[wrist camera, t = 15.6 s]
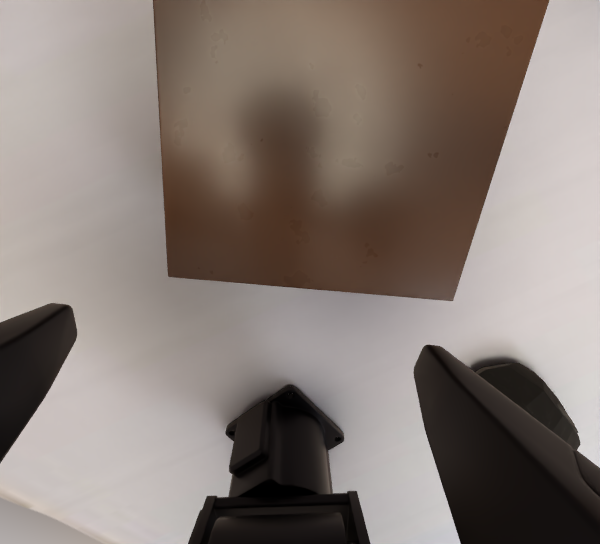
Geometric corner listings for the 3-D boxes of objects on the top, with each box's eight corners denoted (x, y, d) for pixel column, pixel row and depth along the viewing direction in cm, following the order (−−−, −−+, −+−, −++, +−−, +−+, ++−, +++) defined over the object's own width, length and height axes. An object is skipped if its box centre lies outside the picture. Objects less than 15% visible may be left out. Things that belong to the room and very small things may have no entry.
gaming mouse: (528, 488, 29) (563, 541, 25) (429, 391, 24) (454, 439, 20) (599, 450, 27) (648, 502, 23) (507, 340, 22) (549, 382, 19)
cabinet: (201, -79, 14) (140, -216, 8) (480, -37, 15) (594, -138, 9) (203, 234, 19) (167, 277, 14) (408, 253, 20) (453, 301, 14)
